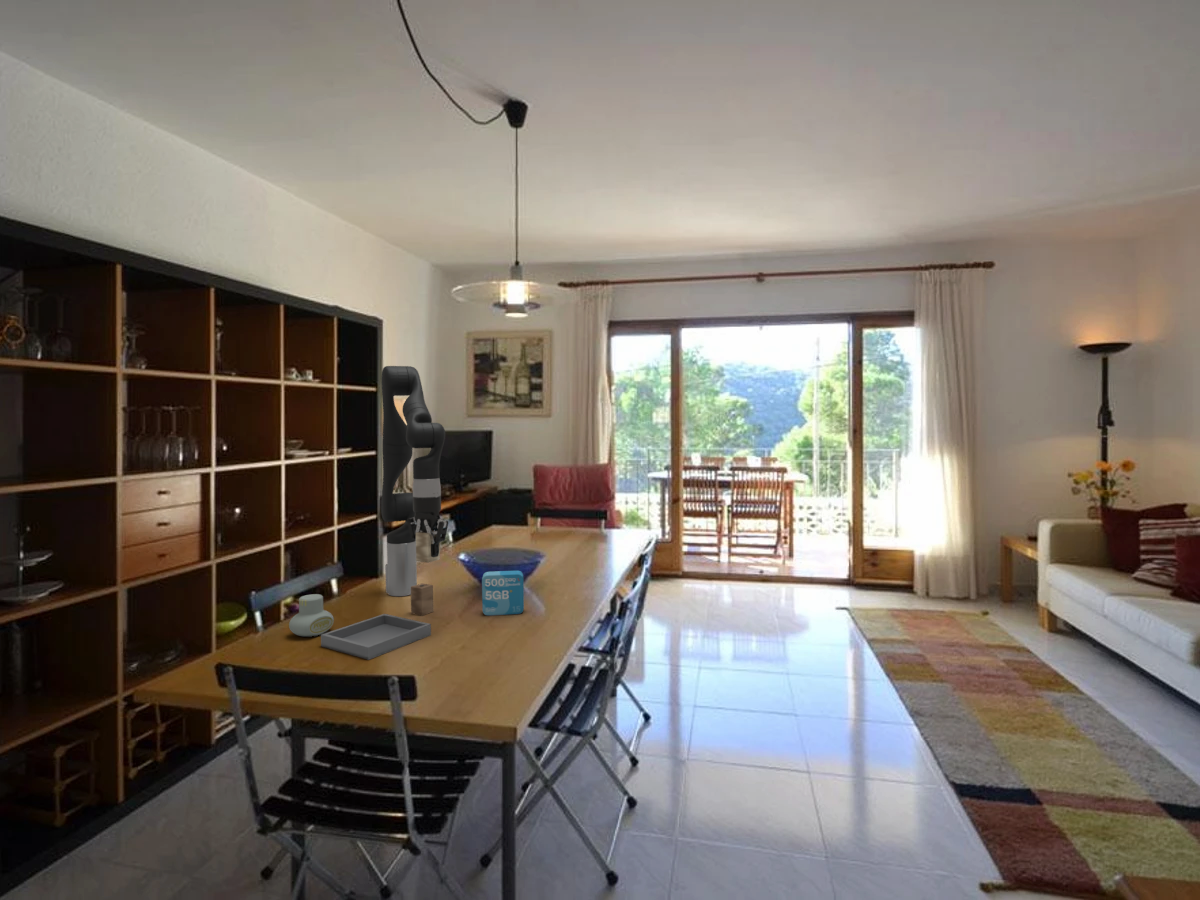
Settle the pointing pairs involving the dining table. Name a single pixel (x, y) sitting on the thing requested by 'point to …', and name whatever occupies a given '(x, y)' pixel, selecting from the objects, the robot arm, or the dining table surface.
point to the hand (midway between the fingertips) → (428, 555)
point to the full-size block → (421, 599)
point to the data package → (502, 593)
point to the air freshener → (311, 617)
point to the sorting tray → (375, 636)
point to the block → (424, 547)
